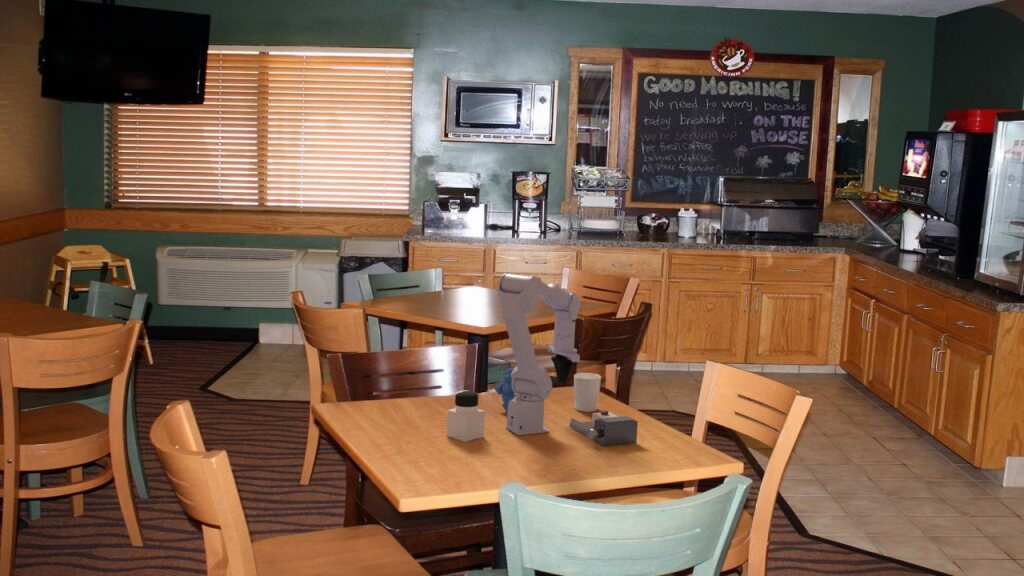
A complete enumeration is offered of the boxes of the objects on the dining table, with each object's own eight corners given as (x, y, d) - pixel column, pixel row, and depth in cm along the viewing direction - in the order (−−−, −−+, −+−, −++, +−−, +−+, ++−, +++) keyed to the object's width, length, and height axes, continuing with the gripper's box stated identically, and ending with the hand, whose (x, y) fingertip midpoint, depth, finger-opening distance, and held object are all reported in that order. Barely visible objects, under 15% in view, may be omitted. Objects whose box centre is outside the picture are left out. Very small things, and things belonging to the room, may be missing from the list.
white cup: (589, 414, 280) (591, 380, 278) (567, 408, 284) (568, 375, 283) (604, 409, 286) (606, 375, 285) (581, 404, 291) (583, 371, 289)
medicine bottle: (484, 437, 253) (486, 392, 251) (465, 442, 248) (466, 396, 246) (465, 431, 258) (467, 387, 256) (445, 436, 253) (447, 391, 251)
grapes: (495, 403, 287) (497, 363, 285) (518, 404, 287) (520, 365, 285) (491, 413, 276) (493, 372, 274) (515, 415, 275) (517, 374, 273)
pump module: (601, 436, 254) (602, 415, 253) (590, 431, 259) (592, 410, 258) (617, 434, 256) (618, 413, 256) (606, 429, 261) (608, 408, 260)
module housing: (593, 448, 247) (595, 424, 246) (557, 428, 264) (558, 405, 263) (636, 443, 253) (637, 419, 252) (598, 423, 270) (599, 401, 269)
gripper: (590, 338, 267) (587, 386, 269) (564, 329, 279) (561, 375, 281) (567, 340, 263) (565, 388, 265) (542, 330, 276) (540, 376, 278)
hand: (562, 381), depth 273 cm, fingers closed
